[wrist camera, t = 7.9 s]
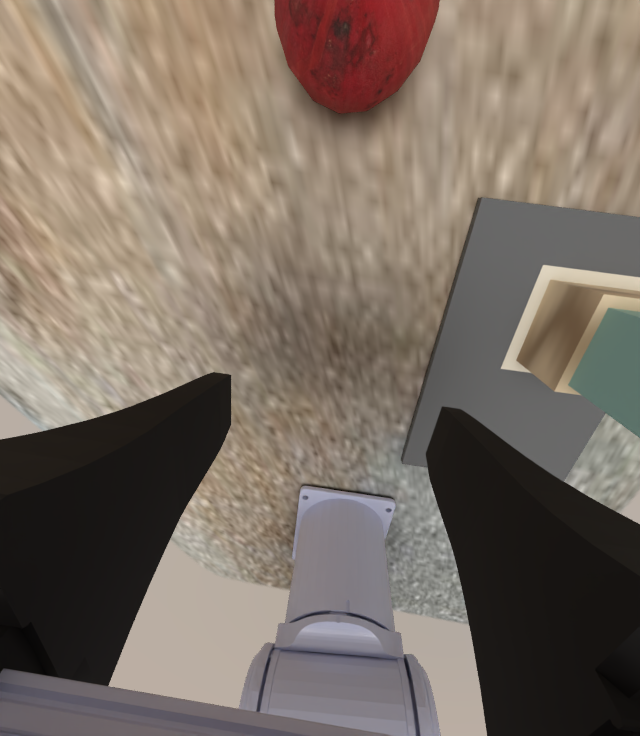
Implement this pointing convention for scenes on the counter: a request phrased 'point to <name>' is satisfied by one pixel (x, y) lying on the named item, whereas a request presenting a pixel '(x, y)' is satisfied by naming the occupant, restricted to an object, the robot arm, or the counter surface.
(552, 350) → the maple block
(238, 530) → the counter surface
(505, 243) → the mat
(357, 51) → the onion
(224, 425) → the robot arm
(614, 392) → the teal block
